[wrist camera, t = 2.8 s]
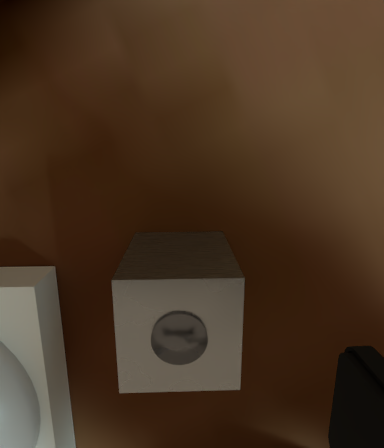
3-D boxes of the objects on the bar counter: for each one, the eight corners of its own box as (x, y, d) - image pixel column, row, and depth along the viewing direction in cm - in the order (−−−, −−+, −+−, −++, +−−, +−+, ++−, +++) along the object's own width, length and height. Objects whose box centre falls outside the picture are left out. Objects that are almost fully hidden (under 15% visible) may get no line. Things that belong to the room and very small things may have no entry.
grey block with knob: (222, 231, 17) (245, 279, 11) (220, 309, 18) (240, 392, 12) (135, 232, 17) (110, 282, 11) (139, 311, 18) (118, 396, 12)
